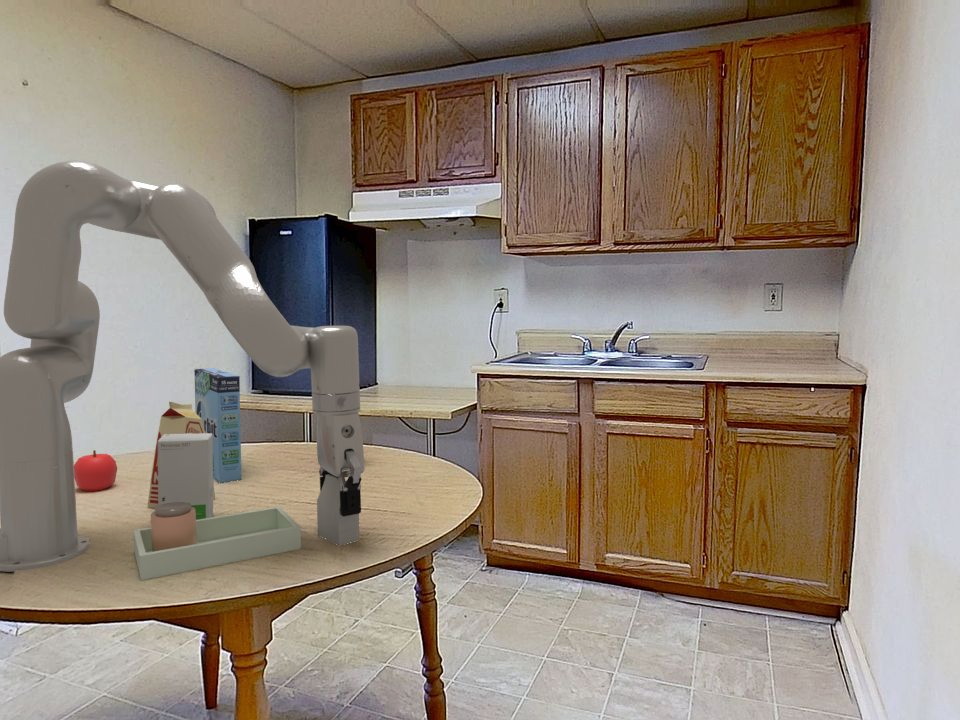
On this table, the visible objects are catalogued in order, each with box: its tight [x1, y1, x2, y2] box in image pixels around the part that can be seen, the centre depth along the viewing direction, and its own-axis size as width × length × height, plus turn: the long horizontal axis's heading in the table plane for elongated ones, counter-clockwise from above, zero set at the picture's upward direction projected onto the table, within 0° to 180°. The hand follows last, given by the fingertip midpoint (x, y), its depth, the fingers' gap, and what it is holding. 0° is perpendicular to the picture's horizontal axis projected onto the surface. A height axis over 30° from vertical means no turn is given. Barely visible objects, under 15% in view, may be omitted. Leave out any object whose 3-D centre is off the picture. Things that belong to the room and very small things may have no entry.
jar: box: [150, 502, 197, 552], centre depth 97 cm, size 6×6×8 cm
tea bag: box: [316, 474, 360, 547], centre depth 107 cm, size 4×7×10 cm, turn 43°
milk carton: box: [147, 401, 216, 509], centre depth 125 cm, size 9×9×20 cm
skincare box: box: [158, 433, 214, 520], centre depth 113 cm, size 8×7×16 cm
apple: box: [74, 449, 118, 492], centre depth 136 cm, size 8×8×8 cm
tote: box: [132, 505, 302, 582], centre depth 100 cm, size 22×12×4 cm, turn 122°
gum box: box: [193, 367, 243, 484], centre depth 147 cm, size 20×5×23 cm, turn 37°
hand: (340, 506), depth 107 cm, fingers open, 9 cm apart
